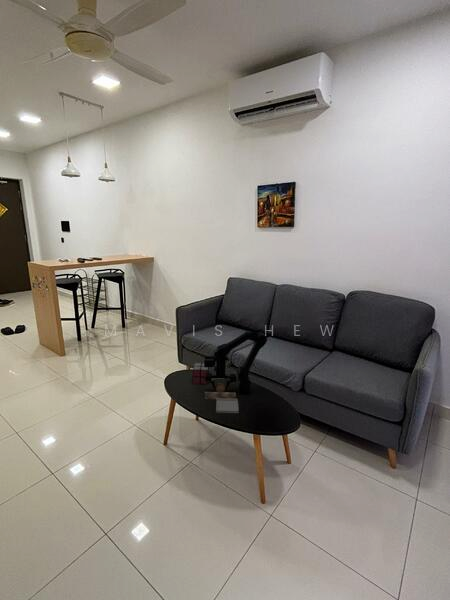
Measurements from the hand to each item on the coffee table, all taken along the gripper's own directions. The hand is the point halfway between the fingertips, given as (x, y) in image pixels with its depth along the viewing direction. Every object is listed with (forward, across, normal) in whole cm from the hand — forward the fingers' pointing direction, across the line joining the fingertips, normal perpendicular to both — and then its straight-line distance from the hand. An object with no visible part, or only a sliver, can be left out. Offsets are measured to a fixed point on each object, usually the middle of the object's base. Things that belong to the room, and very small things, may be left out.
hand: (220, 390), depth 183 cm
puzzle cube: (+2, +13, -14) cm, 20 cm away
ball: (+1, 0, 0) cm, 1 cm away
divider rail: (+1, 0, +8) cm, 8 cm away
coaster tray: (+1, -4, +16) cm, 17 cm away
